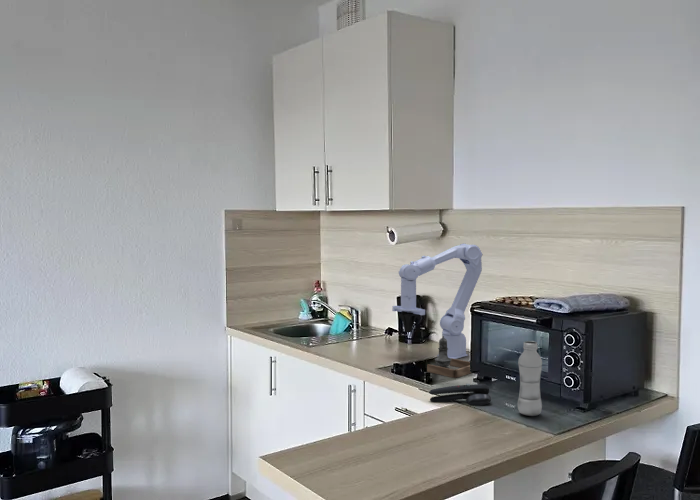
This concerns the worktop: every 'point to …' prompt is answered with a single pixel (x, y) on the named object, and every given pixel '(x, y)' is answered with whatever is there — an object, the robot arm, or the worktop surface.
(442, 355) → the grey stone vase
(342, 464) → the worktop surface
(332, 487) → the worktop surface
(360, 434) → the worktop surface
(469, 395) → the can opener
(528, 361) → the plastic bottle
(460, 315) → the robot arm
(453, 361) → the walnut corral
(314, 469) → the worktop surface
